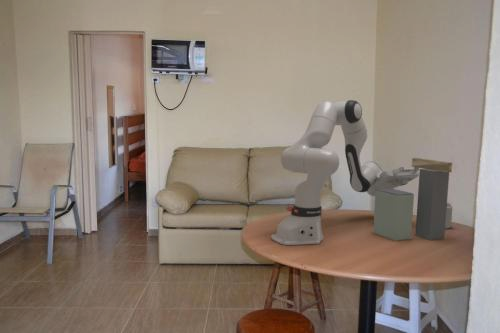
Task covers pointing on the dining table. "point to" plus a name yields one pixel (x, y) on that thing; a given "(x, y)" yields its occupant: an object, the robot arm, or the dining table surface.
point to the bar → (432, 164)
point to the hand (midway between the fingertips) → (410, 168)
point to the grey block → (393, 214)
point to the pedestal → (432, 204)
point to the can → (448, 216)
